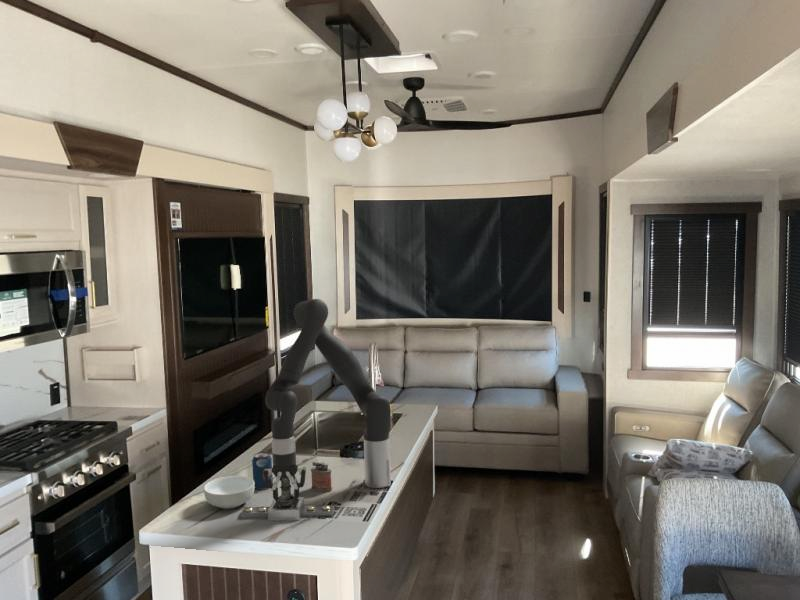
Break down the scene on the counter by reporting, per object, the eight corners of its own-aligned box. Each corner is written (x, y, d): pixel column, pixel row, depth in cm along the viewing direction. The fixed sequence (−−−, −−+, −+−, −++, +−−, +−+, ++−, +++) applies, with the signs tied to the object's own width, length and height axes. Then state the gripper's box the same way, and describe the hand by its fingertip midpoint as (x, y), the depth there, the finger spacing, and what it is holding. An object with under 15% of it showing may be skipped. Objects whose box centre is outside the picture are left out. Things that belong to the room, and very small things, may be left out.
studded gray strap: (335, 506, 222) (335, 496, 221) (332, 519, 212) (331, 508, 211) (246, 508, 222) (246, 498, 222) (239, 521, 212) (238, 511, 212)
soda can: (268, 490, 237) (266, 458, 236) (250, 489, 238) (248, 457, 237) (275, 483, 244) (274, 451, 242) (258, 482, 245) (256, 451, 244)
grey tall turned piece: (278, 505, 219) (276, 470, 218) (296, 504, 220) (294, 469, 219) (276, 512, 214) (275, 477, 212) (295, 511, 214) (293, 475, 213)
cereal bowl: (229, 518, 215) (227, 497, 214) (194, 508, 223) (193, 488, 223) (265, 499, 229) (264, 480, 228) (231, 490, 238) (230, 472, 237)
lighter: (333, 489, 236) (332, 462, 235) (329, 492, 233) (327, 465, 232) (314, 486, 240) (313, 459, 239) (309, 489, 237) (308, 462, 236)
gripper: (307, 445, 218) (309, 494, 220) (264, 446, 218) (267, 495, 220) (304, 453, 211) (306, 503, 213) (259, 454, 211) (262, 504, 213)
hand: (286, 499), depth 216 cm, fingers closed on grey tall turned piece, 5 cm apart
